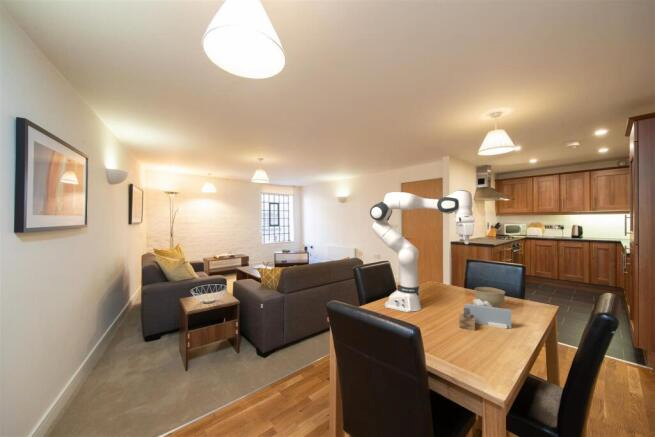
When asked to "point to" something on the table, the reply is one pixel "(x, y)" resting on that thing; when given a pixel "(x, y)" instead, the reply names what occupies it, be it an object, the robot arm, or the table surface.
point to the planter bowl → (490, 295)
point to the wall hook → (481, 303)
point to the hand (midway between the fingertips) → (463, 243)
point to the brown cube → (466, 320)
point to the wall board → (491, 315)
